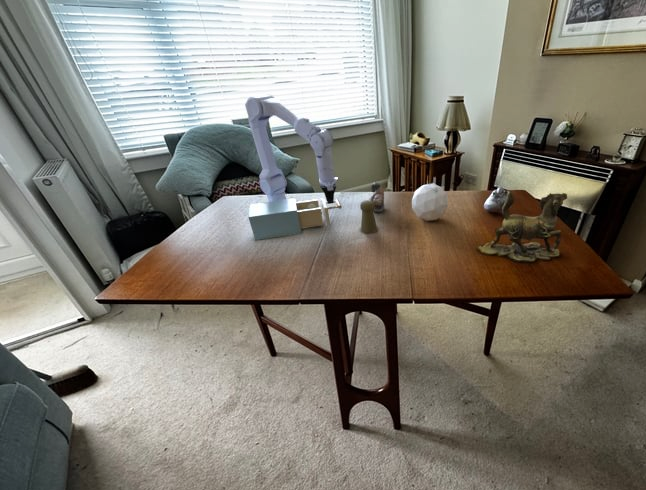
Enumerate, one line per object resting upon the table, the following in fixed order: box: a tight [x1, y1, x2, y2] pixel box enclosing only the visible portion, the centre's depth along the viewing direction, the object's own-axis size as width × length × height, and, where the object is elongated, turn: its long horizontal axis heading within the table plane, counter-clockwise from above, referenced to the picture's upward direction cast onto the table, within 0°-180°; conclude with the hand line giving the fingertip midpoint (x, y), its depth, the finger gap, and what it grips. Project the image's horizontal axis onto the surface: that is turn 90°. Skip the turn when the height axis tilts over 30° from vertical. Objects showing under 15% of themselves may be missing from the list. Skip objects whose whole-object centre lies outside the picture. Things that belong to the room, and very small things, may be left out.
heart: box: [483, 186, 510, 213], centre depth 120 cm, size 10×10×12 cm
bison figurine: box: [369, 181, 385, 213], centre depth 128 cm, size 12×7×10 cm, turn 0°
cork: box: [359, 199, 378, 234], centre depth 112 cm, size 6×6×11 cm
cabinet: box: [247, 198, 302, 241], centre depth 115 cm, size 17×13×9 cm
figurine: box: [477, 190, 568, 264], centre depth 92 cm, size 13×25×20 cm, turn 79°
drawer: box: [296, 196, 343, 229], centre depth 118 cm, size 21×11×7 cm, turn 107°
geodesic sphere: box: [411, 183, 449, 222], centre depth 117 cm, size 15×14×14 cm
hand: (330, 202), depth 118 cm, fingers closed
